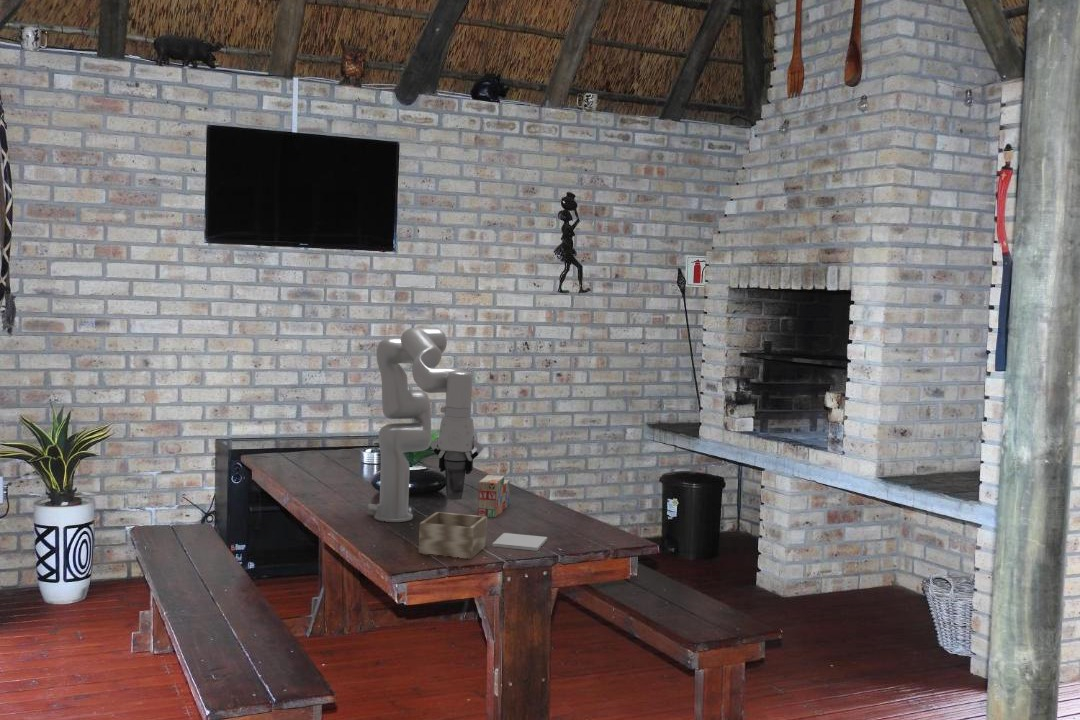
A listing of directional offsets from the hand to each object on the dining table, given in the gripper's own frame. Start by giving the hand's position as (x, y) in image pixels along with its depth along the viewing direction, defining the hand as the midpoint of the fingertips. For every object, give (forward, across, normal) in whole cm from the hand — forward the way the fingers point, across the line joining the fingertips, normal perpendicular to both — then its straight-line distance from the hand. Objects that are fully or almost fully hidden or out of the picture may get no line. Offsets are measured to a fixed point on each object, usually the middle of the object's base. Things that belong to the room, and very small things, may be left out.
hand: (455, 471), depth 320 cm
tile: (+23, +17, +15) cm, 33 cm away
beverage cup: (+8, 0, 0) cm, 8 cm away
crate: (+23, 0, 0) cm, 23 cm away
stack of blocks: (+24, -2, +56) cm, 61 cm away
